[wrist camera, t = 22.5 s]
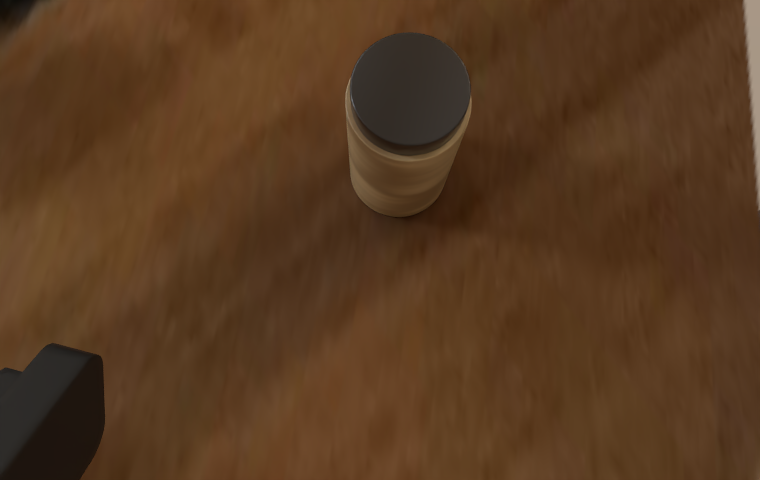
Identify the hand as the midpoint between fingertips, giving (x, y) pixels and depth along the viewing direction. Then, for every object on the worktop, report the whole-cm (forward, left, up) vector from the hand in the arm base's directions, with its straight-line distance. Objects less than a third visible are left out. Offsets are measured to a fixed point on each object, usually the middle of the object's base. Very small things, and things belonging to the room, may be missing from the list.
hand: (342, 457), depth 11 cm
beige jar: (+1, -12, -23) cm, 25 cm away
